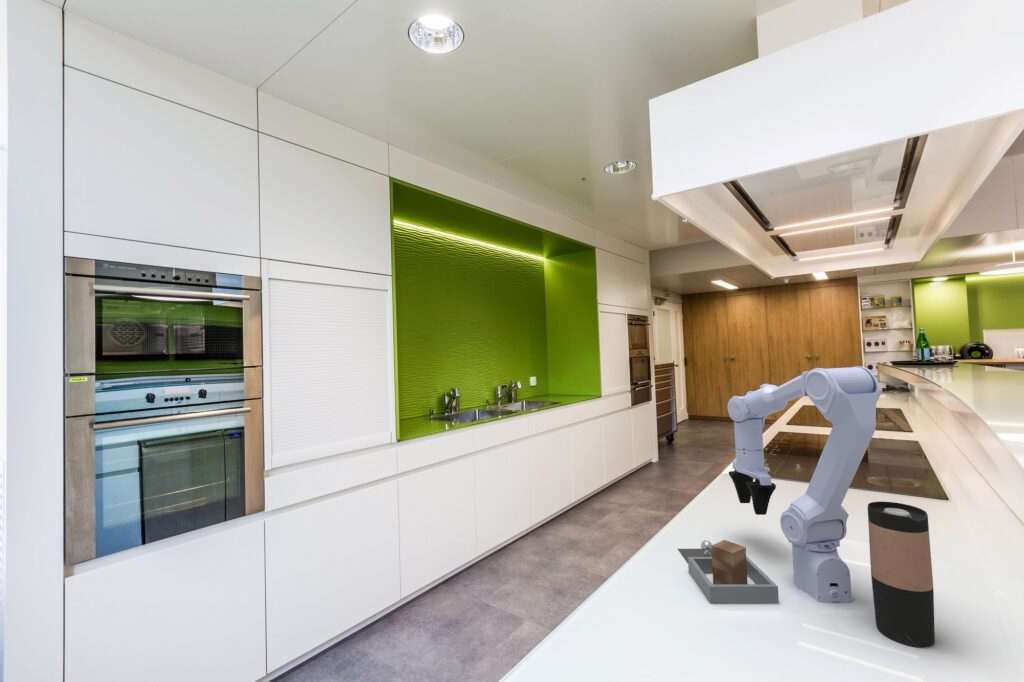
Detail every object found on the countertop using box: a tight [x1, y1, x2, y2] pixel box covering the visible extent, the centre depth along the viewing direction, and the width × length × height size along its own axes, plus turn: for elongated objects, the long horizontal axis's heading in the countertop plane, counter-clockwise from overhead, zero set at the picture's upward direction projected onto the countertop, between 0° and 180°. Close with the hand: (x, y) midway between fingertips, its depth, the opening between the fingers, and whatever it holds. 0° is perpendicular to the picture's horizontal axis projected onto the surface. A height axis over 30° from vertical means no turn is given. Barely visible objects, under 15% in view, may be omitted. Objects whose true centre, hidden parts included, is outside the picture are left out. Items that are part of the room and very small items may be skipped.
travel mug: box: [867, 501, 936, 649], centre depth 73 cm, size 8×8×20 cm
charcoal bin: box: [687, 556, 780, 605], centre depth 87 cm, size 12×12×4 cm
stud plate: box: [677, 540, 713, 564], centre depth 99 cm, size 10×10×5 cm
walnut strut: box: [711, 539, 749, 584], centre depth 87 cm, size 4×4×8 cm
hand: (752, 508), depth 102 cm, fingers open, 7 cm apart
